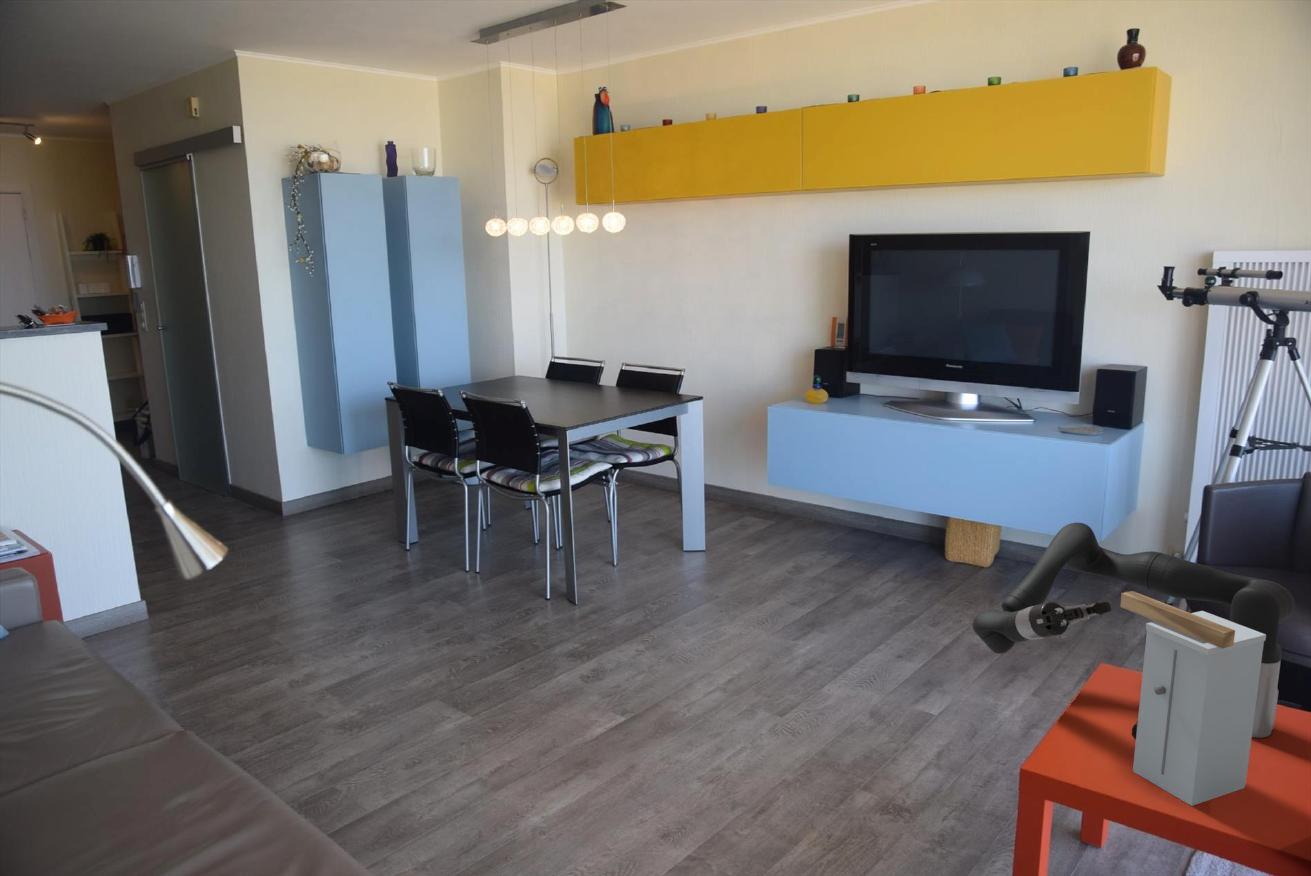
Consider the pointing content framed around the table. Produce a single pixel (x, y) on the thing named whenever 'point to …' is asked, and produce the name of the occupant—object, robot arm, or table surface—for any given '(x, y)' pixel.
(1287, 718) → the table surface
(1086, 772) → the table surface
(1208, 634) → the oak batten
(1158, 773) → the light grey cabinet
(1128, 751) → the table surface
